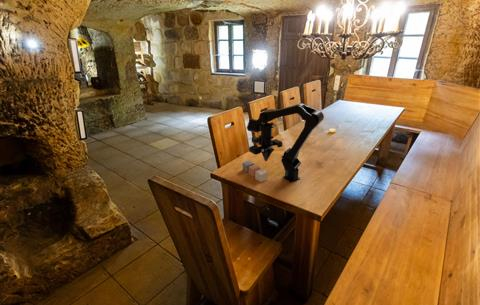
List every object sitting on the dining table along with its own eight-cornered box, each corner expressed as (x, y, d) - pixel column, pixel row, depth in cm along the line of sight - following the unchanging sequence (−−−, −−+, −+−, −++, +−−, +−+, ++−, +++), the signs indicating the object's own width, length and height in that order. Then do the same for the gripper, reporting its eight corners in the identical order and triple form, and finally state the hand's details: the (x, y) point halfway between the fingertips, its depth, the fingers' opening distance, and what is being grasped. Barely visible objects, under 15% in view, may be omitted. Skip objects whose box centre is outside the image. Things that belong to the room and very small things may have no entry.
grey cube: (253, 170, 144) (253, 163, 143) (247, 172, 142) (247, 165, 140) (249, 167, 148) (249, 160, 146) (242, 169, 146) (242, 162, 144)
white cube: (267, 179, 135) (267, 172, 133) (260, 182, 133) (260, 174, 131) (262, 176, 139) (262, 168, 137) (255, 178, 136) (255, 171, 135)
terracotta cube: (260, 174, 140) (260, 167, 138) (253, 177, 138) (253, 169, 136) (255, 171, 143) (255, 164, 141) (248, 173, 141) (248, 166, 139)
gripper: (270, 126, 146) (269, 151, 152) (242, 133, 137) (243, 160, 143) (283, 132, 137) (282, 158, 144) (255, 139, 128) (255, 167, 135)
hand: (265, 160), depth 141 cm, fingers closed
